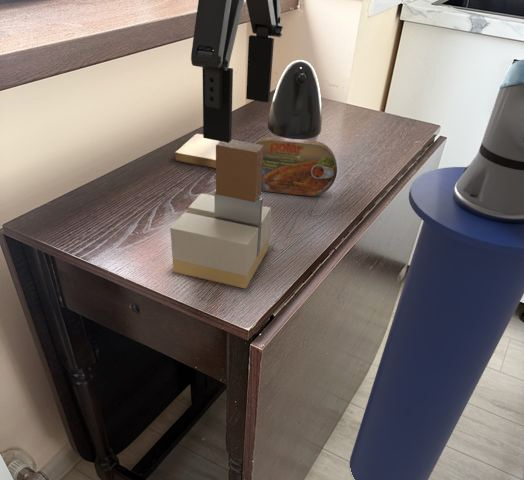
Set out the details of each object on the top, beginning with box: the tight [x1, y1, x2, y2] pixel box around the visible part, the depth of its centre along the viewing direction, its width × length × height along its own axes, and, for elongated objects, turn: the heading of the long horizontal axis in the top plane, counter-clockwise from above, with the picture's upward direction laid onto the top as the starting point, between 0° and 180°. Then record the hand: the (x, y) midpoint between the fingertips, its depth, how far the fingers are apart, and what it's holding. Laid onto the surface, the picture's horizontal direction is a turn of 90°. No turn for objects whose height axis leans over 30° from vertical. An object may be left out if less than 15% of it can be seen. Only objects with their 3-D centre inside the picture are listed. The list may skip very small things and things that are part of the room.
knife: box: [213, 138, 264, 257], centre depth 62 cm, size 6×2×14 cm, turn 73°
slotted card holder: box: [169, 193, 272, 290], centre depth 67 cm, size 10×10×6 cm
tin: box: [254, 136, 338, 197], centre depth 83 cm, size 15×3×8 cm, turn 82°
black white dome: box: [267, 59, 323, 141], centre depth 94 cm, size 10×10×15 cm
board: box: [174, 133, 219, 169], centre depth 93 cm, size 12×10×2 cm
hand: (239, 118), depth 56 cm, fingers open, 13 cm apart
